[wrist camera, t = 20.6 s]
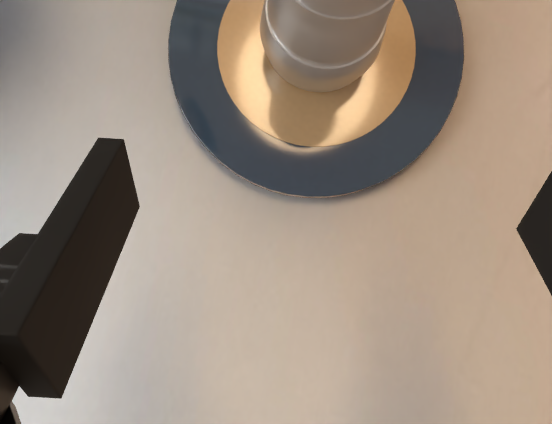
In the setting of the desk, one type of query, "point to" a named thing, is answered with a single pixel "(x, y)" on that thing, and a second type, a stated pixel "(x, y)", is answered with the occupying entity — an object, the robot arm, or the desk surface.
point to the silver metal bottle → (323, 39)
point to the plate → (314, 98)
